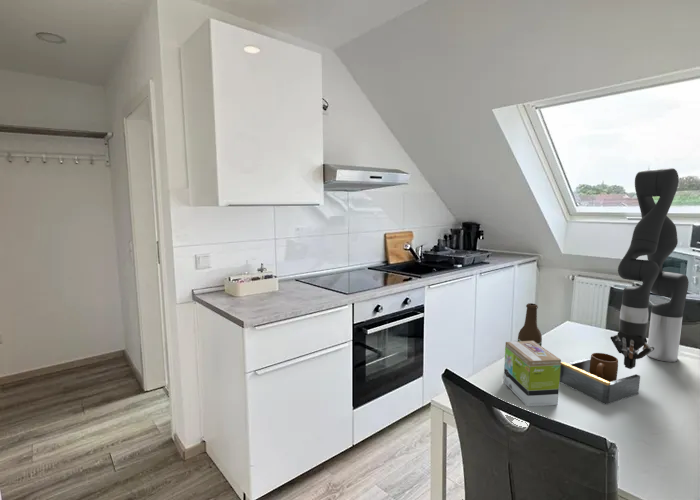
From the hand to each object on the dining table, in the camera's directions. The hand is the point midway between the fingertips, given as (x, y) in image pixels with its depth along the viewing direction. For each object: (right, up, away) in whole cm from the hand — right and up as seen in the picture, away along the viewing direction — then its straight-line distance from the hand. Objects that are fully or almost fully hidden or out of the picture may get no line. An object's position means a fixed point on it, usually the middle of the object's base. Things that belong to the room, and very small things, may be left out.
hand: (629, 367), depth 129 cm
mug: (-13, -5, -5) cm, 14 cm away
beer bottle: (-31, -3, +8) cm, 32 cm away
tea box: (-38, -6, -9) cm, 40 cm away
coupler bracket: (-14, -5, -5) cm, 16 cm away
